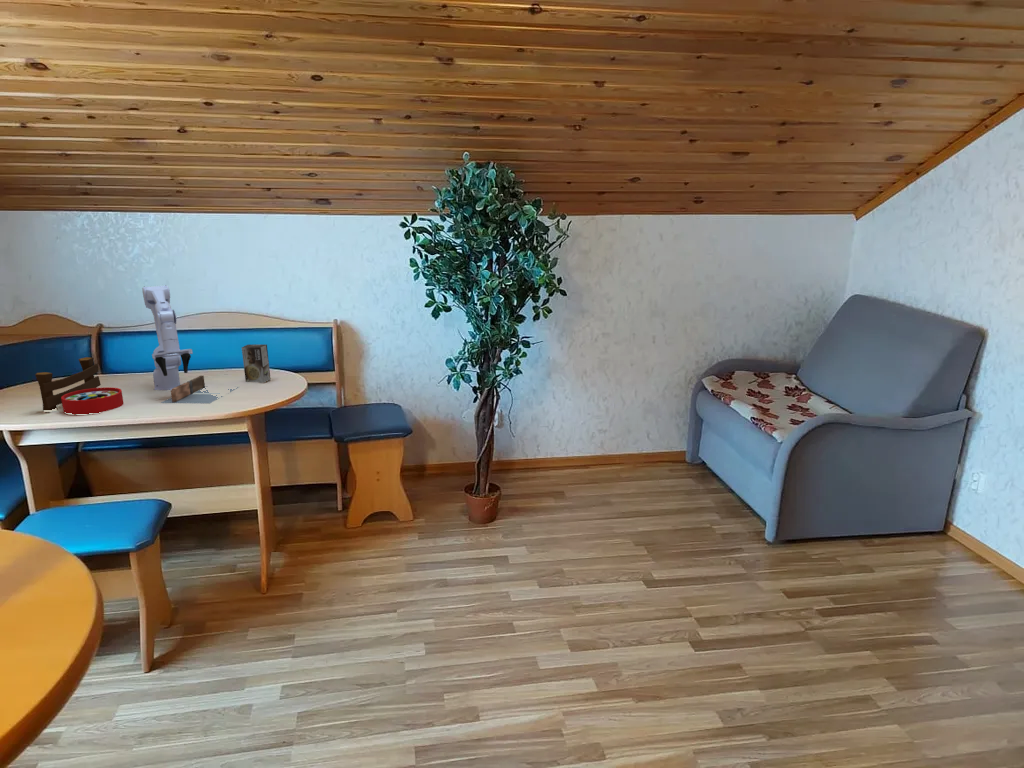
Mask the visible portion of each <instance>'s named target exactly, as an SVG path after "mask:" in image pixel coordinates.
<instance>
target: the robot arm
mask: <svg viewBox="0 0 1024 768" xmlns="http://www.w3.org/2000/svg"><path fill="white" fill-rule="evenodd" d="M141 289H142V295H143V296H142V297H143V301H144V305H145V308H147V309H149V310H151V313H152V315H153V320H154V325H155V331H156V335H157V337H156V338H157V342H158V346H156V347H155V349H154V350H153V352H152V354H151V356H152V359H153V362H154V367H155V369H154V370H153V373H152V376H153V377H152V378H153V385H154V389H153V390H154V391H171V390H172V389H173V388H175V387H177V386H179V385H181V380H180V373H179V367H180V366H181V365H182V366H183V367H182V368H183V373H184V374H188V373H189V372H188V371H189V364H190V360H191V355H193V354H194V353H193V349H192V348H186V349H180V343H179V342H180V341H179V337H178V329H177V314H176V311H175V309H172V306H171V304H170V303H171V293H170V288H169V286H168V285H167V284H165V285H153V286H152V285H151V286H143V287H142V288H141Z"/></svg>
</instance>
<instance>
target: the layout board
mask: <svg viewBox="0 0 1024 768" xmlns="http://www.w3.org/2000/svg"><path fill="white" fill-rule="evenodd" d="M236 387H237V388H236V389H233V390H232V389H230V393H231V392H233V391H235V390H237V389H239V388H240V386H236ZM202 389H203V388H202ZM202 389H200V390H202ZM205 389H206V388H205ZM200 390H198V391H196V392H194V393H193V394H189V395H187V396H185V397H183V398H181V399H179V400H177V401H176V402H172V397H169V398H167V399H166V400H163V401H161V402H160V404H204V405H205V404H206V405H207V404H212V403H214V402H215V401H217V400H219V399H220V398H218V397H216V396H217V395H216V396H213V395H211V394H220V393H209V392H208V390H206V391H207V392H206V391H203V392H204V393H203V392H201V391H200ZM228 390H229V389H228ZM217 398H218V399H217ZM221 398H223V396H221Z"/></svg>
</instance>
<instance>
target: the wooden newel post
mask: <svg viewBox="0 0 1024 768" xmlns="http://www.w3.org/2000/svg"><path fill="white" fill-rule="evenodd" d="M189 384H190V383H189V382H187V381H186V382H183V383H180V385H179V386H177V387H175V388H173V389H172V390H170V396H171V397H172V402H176V401H177V400H179V399H181V398H183V397H185V396H187V395H189V394H190V387H189ZM171 397H170V398H171Z"/></svg>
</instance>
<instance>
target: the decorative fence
mask: <svg viewBox="0 0 1024 768" xmlns="http://www.w3.org/2000/svg"><path fill="white" fill-rule="evenodd" d="M77 360H78V361H79V364H80V367H81V369H82V371H79V372H76V373H75V374H74V373H73V374H72V375H69V376H67V377H64V378H60V379H56V380H53V373H52V372H47V371H46V372H45V371H44V372H43V371H42V372H36V373H35V374H34V376H35V378H36V381H37V383H38V386H39V389H40V390H39V391H40V396H41V400H42V411H43V410H52V409H55V408H57V409H58V407H57V406H59V405H61V404H62V400H61V397H62V396H63V395H65V394H68V393H70V392H74V391H79V390H84V389H91V388H99V386H101V385H102V384H101V380H100V377H99V375H97V376H95V374H97V373H98V372H99V363H94V357H88V356H86V357H82V358H77ZM82 381H84V383H82V384H79V385H77V386H75V387H72V388H70V389H68V390H67V389H66V390H65V391H62V392H60V393H59V392H58V393H56V394H54V392H53V391H57V390H60V389H63V388H66V387H67V388H68V387H69V386H71V385H75V384H77V383H79V382H82Z"/></svg>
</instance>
